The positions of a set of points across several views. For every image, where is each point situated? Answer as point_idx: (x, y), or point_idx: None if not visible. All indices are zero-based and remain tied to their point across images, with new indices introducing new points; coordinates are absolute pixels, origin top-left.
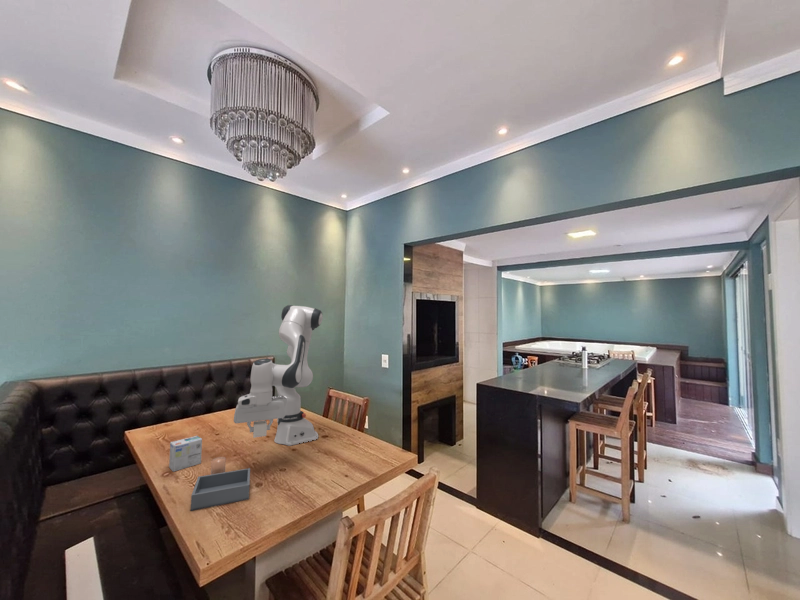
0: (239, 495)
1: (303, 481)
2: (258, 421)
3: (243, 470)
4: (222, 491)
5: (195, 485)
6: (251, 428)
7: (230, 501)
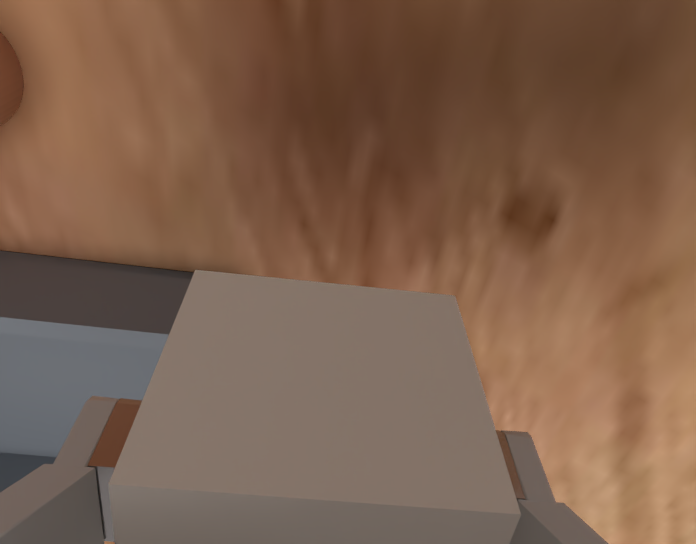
0: None
1: (575, 440)
2: (264, 526)
3: None
4: None
5: None
6: (107, 537)
7: None
